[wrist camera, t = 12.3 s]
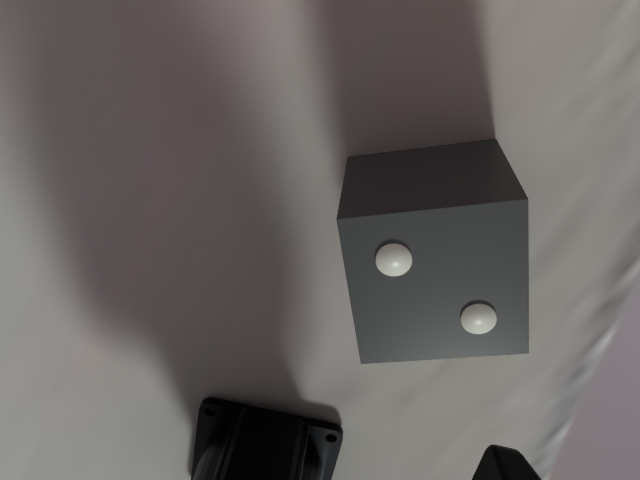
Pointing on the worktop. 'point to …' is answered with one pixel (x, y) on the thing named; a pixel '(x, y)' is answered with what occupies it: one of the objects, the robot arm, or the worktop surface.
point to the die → (436, 253)
